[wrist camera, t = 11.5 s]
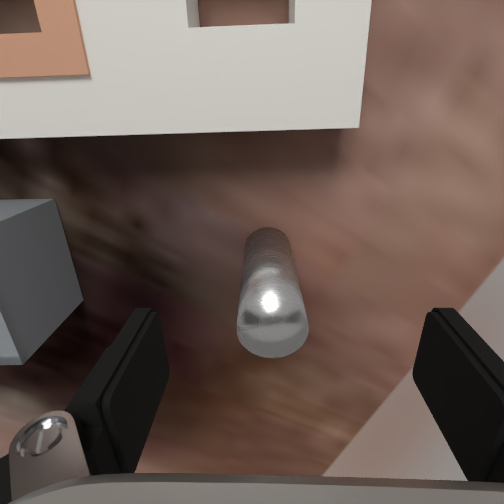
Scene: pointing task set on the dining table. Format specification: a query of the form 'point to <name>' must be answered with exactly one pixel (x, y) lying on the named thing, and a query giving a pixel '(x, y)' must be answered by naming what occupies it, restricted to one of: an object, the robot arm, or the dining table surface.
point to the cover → (33, 277)
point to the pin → (270, 297)
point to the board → (181, 70)
